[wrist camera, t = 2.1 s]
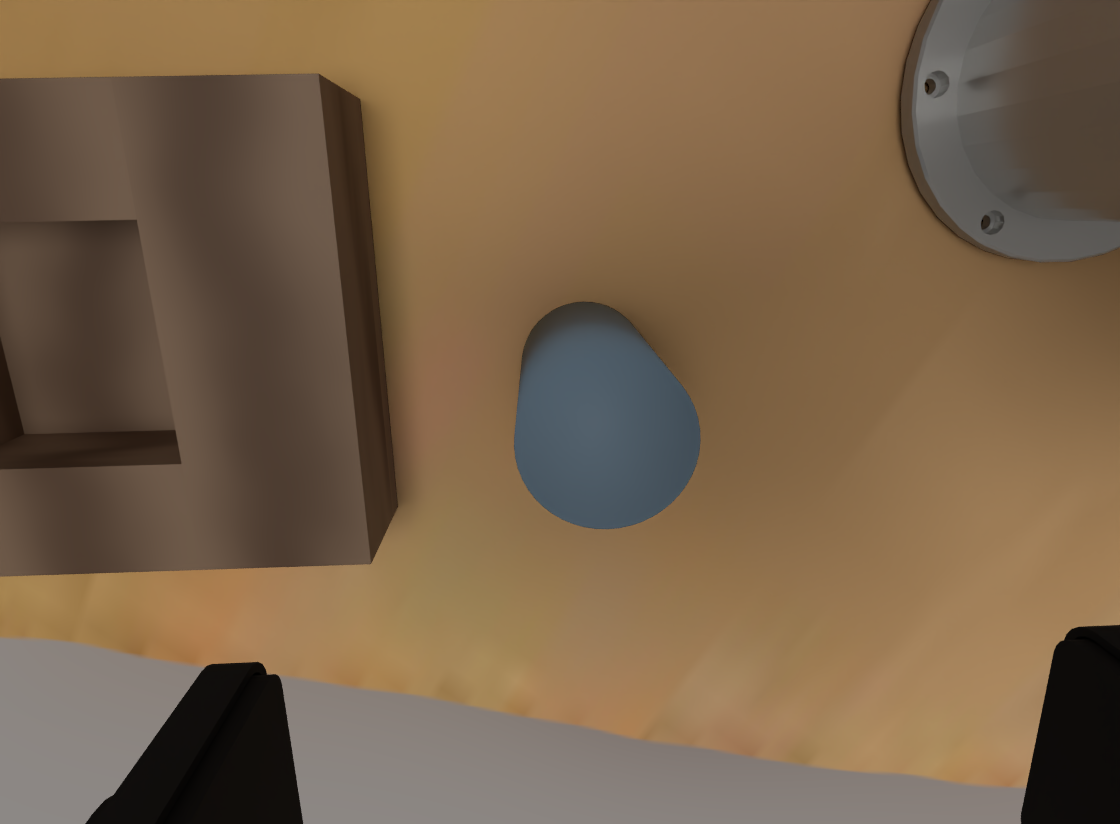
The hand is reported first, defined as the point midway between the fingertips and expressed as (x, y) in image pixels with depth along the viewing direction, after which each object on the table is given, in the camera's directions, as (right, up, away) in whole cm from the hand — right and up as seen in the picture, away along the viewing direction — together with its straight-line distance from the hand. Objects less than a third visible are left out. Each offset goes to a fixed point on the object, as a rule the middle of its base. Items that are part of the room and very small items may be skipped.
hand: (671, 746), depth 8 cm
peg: (0, +6, +20) cm, 21 cm away
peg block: (-18, +7, +19) cm, 27 cm away
